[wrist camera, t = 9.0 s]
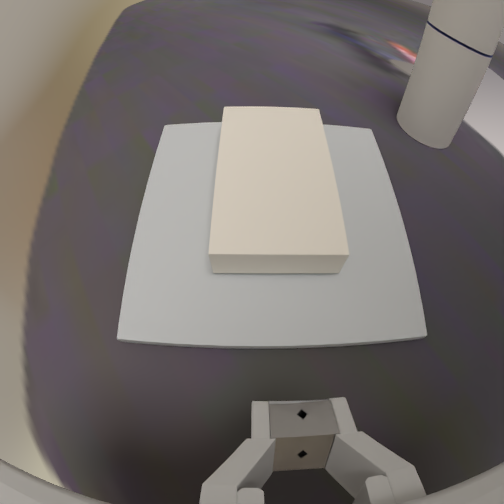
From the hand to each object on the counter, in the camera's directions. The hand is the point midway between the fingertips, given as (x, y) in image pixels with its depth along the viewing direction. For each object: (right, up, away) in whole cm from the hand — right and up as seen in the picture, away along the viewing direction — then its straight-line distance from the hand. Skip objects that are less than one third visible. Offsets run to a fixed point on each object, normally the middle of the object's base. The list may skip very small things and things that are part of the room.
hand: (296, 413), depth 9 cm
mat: (0, +8, +14) cm, 16 cm away
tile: (0, +4, +9) cm, 10 cm away
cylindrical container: (+18, +19, +20) cm, 34 cm away
